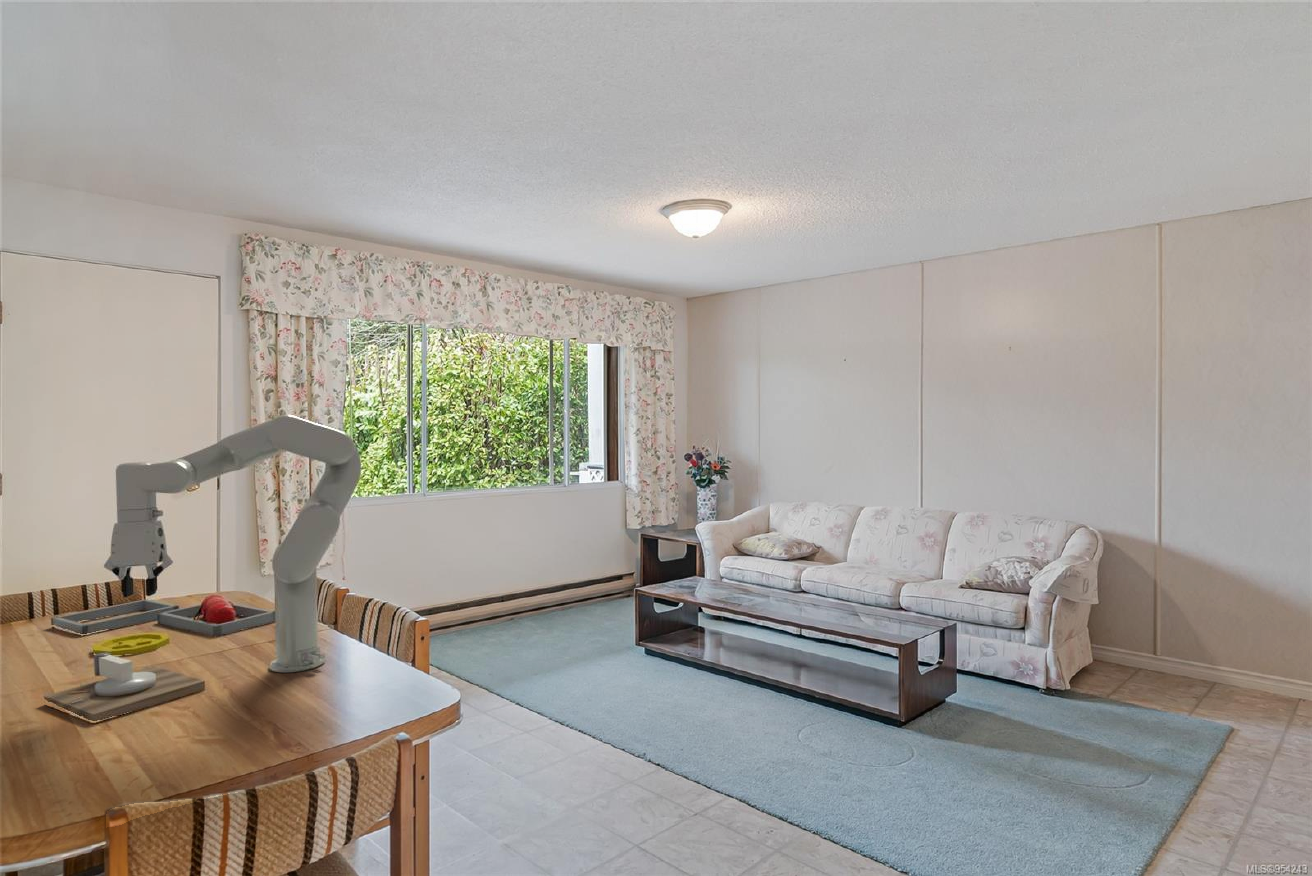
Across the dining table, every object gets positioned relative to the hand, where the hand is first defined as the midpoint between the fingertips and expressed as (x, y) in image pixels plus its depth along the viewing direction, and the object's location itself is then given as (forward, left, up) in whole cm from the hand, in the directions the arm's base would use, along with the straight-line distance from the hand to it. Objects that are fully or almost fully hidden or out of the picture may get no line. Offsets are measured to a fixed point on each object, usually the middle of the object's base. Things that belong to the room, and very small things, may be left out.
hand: (139, 594), depth 173 cm
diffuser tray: (+71, -27, -21) cm, 79 cm away
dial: (-1, +5, -19) cm, 20 cm away
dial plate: (-5, +5, -21) cm, 22 cm away
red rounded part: (+42, -40, -22) cm, 62 cm away
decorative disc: (+36, -15, -22) cm, 45 cm away
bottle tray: (+41, -41, -21) cm, 62 cm away
